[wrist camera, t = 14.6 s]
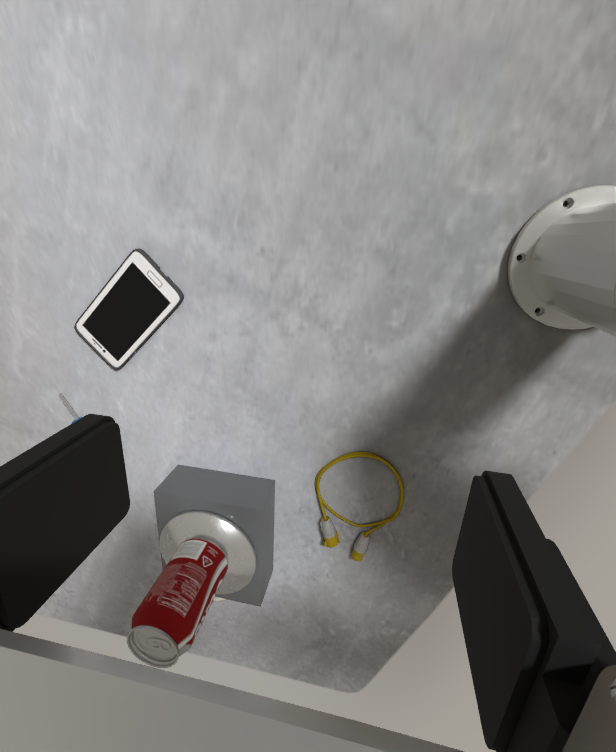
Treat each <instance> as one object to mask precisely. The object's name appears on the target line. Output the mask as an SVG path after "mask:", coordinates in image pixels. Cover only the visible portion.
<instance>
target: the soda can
mask: <svg viewBox="0 0 616 752" xmlns="http://www.w3.org/2000/svg"><path fill="white" fill-rule="evenodd" d="M227 570H228V559H227V557H226V555H225V553H224V551H223V550H222V549H221V548H220V547H219V546H218V545H217V544H215V543H214V542H212V541H210V540H207V539H204V538H199V537H194V538H189V539H187V540H185V541H183V542H182V543H181V544H180V546H179V547H178V549H177V550H176V552H175V553H174V555H173V556H172V558H171V559H170V561H169V562H168V564H167V565H166V567H165V568H164V570H163V571H162V573H161V574H160V576H159V577H158V579H157V580H156V582H155V583H154V585H153V586H152V588H151V589H150V591H149V592H148V594H147V595H146V597H145V598H144V600H143V601H142V603H141V604H140V606H139V607H138V609H137V610H136V612H135V613H134V615H133V618H132V630H131V631H130V632H129V634H128V636H127V644H128V647H129V648H130V650H131V651H132V653H133V654H134V655H135V656H136V657H137V658H138V659H139V660H141V661H142V662H144V663H146V664H148V665H150V666H153V667H158V668H167V667H171V666H173V665H174V664H175V663H176V662H177V660H178V658H179V656H180V655H182V654H183V653H185V652H186V651H188V650H189V648H190V647H191V645H192V643H193V641H194V639H195V637H196V635H197V633H198V631H199V629H200V627H201V625H202V622H203V620H204V618H205V616H206V614H207V612H208V610H209V608H210V606H211V604H212V602H213V599H214V597H215V595H216V593H217V591H218V589H219V587H220V585H221V583H222V581H223V578H224V576H225V574H226V572H227Z"/></svg>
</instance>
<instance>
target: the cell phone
mask: <svg viewBox="0 0 616 752" xmlns="http://www.w3.org/2000/svg"><path fill="white" fill-rule="evenodd" d="M147 255H148V254H147V253H146V252H144V251H143V250H142V249H135V250H133V251H132V252H131V253H130V254H129V255H128V257H127V258H126V259H125V260H124V262H123V263H122V264H121V266H120V267H119V268H118V269H117V271H116V272H115V273H114V274H113V276H112V277H111V278H110V280H109V281H108V282H107V283H106V285H105V286H104V287H103V288H102V290H101V291H100V292H99V294H98V295H99V296H98V295H97V296H96V297H95V299H96V300H95V299H94V300H93V301H92V302H91V304H90V305H89V306H88V308H87V309H86V310H85V311H84V313H83V314H82V315H81V316H80V318H79V319H78V320H77V322H76V324H75V327H74V328H75V330H76V332H77V333H78V334H79V335H80V337H81V338H82V339H83V340H84V341H85V342H86V343H87V344H88V345H89V346H90V347H91V348H92V349H93V350H94V351H95V352H96V353H97V354H98V355H99V356H100V357H101V358H102V359H103V360H104V361H105V362H106V363H107V364H108V365H109V366H110V367H112V368H113V369H116V370H117V369H119V368H121V367H123V366H124V365H125V364H126V363H127V362H128V361H129V358H130V357H131V356H132V355H133V354H134V353H135V352H136V350H137V349H138V348H140V347H141V346H142V345H143V344H144V343H145V342H146V341H147V340H148V339H149V338H150V337H151V336H152V335H153V333H154V332H155V331H156V330H157V329H158V328H159V327H160V326H161V325H162V324H163V322H164V321H165V320H166V319H167V318H168V317H169V316H170V315H171V314H172V313H173V312H174V310H175V309H176V308H177V307H178V306H179V305H180V304H181V302H182V301H183V299H184V295H183V293H182V292H181V290H180V289H179V288H178V287H177V286H176V285H175V284H174V283H173V281H172V280H171V279H170V278H169V277H166V276H165V275H164V273H163V272H162V271H161V270H160V269H159V268H160V267H159V266H158V265H157V264H156V263H155V262H154V261H153V260H152V259H150V258H149V257H150V256H149V255H148V256H149V257H148V256H147Z"/></svg>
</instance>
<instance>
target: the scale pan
mask: <svg viewBox="0 0 616 752" xmlns="http://www.w3.org/2000/svg"><path fill="white" fill-rule="evenodd" d="M194 537H199V538H204V539H207V540H210V541H212V542H214V543H215V544H217V545H218V546H219V547H220V548H221V549H222V550H223V551H224V553H225V555H226V557H227V559H228V570H227V572H226V574H225V576H224V578H223V581H222V583H221V585H220V587H219V589H218V591H217V593H216V594H229V593H234V592H237V591H239V590H241V589H243V588H244V587H245V586H246V585H247V584H249V582H250V581H251V579H252V577H253V575H254V573H255V570H256V566H257V554H256V550H255V547H254V545H253V543H252V541H251V539H250V538H249V536H248V535H247V534H246V533H245V531H244V530H243V529H242V528H241V527H239V526H238V525H237V524H236V523H235V522H233V521H232V520H230V519H228V518H227V517H225V516H223V515H220V514H218V513H215V512H211V511H207V510H188V511H184V512H181V513H179V514H177V515H175V516H174V517H173V518H171V519H170V520H169V522H168V523H167V524H166V526H165V527H164V528H163V530H162V532H161V536H160V550H161V554H162V557H163V559H164V561H165V563H166V564H168V562H169V561H170V559H171V558H172V556H173V555H174V553H175V552H176V550H177V549H178V547H179V546H180V544H181V543H182V542H183V541H185V540H187V539H189V538H194Z"/></svg>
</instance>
